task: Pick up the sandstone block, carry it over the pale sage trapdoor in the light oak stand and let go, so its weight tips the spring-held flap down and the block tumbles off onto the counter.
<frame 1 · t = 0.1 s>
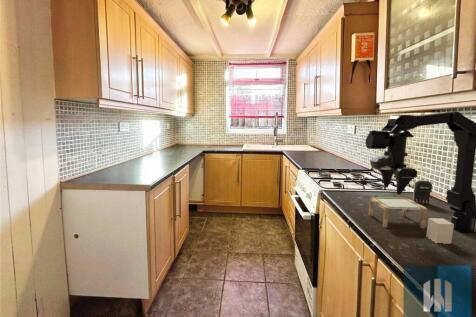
hand: (392, 190, 102), 15 cm above the worktop, tool pointing down, fingers open, 9 cm apart
disk drive: (389, 204, 134), on the worktop
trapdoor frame: (395, 221, 110), on the worktop
battery charger: (421, 203, 134), on the worktop
trapdoor: (397, 203, 109), point 8 cm above the worktop, hinge at 0.0°
stone block: (438, 240, 94), on the worktop
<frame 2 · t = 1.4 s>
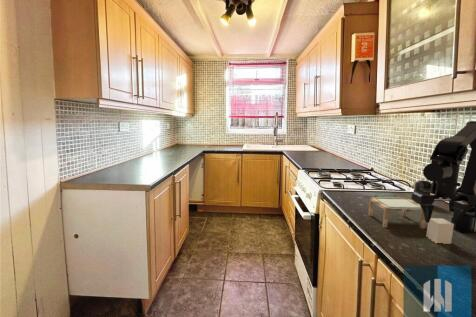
hand: (440, 222, 93), 6 cm above the worktop, tool pointing down, fingers open, 9 cm apart
nothing on the worktop moved.
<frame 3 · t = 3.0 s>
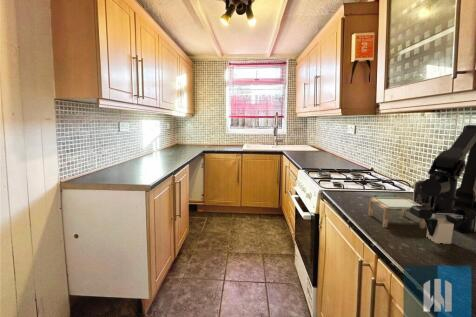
hand: (438, 236, 94), 2 cm above the worktop, tool pointing down, fingers closed on stone block, 5 cm apart
stone block: (438, 240, 94), on the worktop, touching gripper
everything else where it was.
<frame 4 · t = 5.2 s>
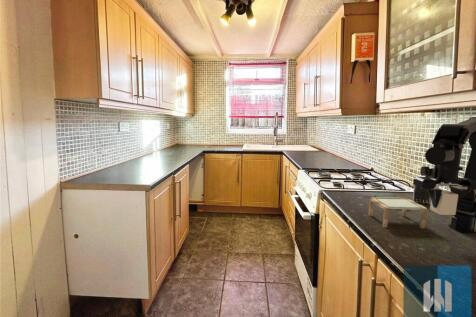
hand: (442, 207, 92), 12 cm above the worktop, tool pointing down, fingers closed on stone block, 5 cm apart
stone block: (442, 212, 93), point 10 cm above the worktop, touching gripper
everything else where it was.
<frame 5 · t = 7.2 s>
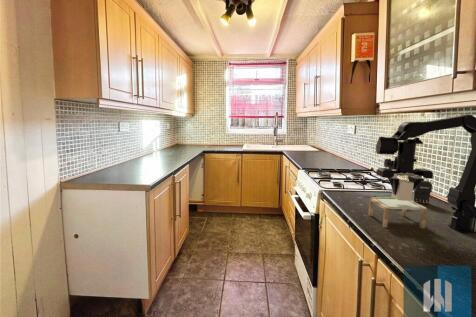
hand: (401, 194, 106), 12 cm above the worktop, tool pointing down, fingers closed on stone block, 5 cm apart
stone block: (401, 198, 106), point 10 cm above the worktop, touching gripper
everything else where it was.
when the fingers open (12 cm above the worktop, at t = 7.8 s): stone block drops 6 cm, resting on trapdoor.
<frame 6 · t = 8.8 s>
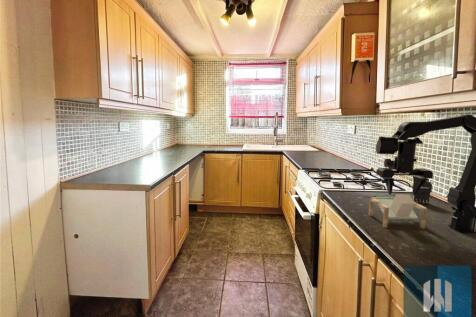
hand: (401, 194, 106), 12 cm above the worktop, tool pointing down, fingers open, 9 cm apart
trapdoor: (395, 208, 110), point 5 cm above the worktop, hinge at -26.0°, touching stone block
stone block: (399, 211, 108), point 5 cm above the worktop, tilted 26°, touching trapdoor
everything else where it was.
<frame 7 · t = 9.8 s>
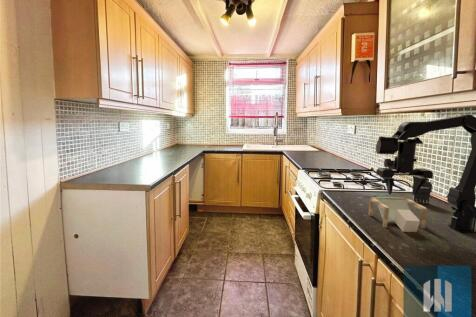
hand: (401, 194, 106), 12 cm above the worktop, tool pointing down, fingers open, 9 cm apart
trapdoor: (394, 210, 111), point 4 cm above the worktop, hinge at -39.7°, touching stone block
stone block: (401, 215, 106), point 4 cm above the worktop, tilted 104°, touching trapdoor
everything else where it was.
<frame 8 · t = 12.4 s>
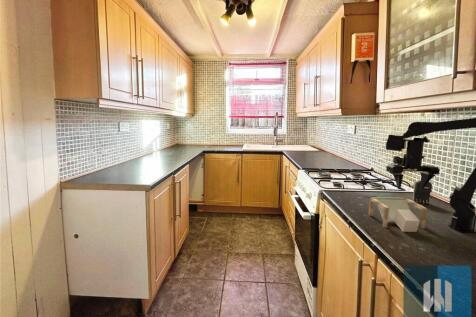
hand: (409, 189, 114), 12 cm above the worktop, tool pointing down, fingers open, 9 cm apart
nothing on the worktop moved.
at the end: stone block point 4.2 cm above the worktop; stone block moved 14.6 cm from its start; stone block touching worktop, trapdoor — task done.
